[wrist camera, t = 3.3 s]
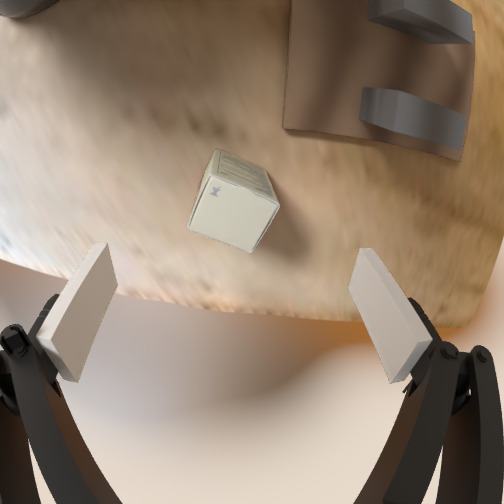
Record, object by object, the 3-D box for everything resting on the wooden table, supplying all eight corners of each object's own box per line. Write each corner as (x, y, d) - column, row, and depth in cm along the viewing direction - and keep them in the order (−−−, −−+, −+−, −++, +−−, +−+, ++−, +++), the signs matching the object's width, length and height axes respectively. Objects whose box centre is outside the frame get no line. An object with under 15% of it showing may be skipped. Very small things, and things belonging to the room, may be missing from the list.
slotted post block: (281, 126, 22) (299, 141, 17) (293, -35, 14) (312, -68, 8) (455, 159, 24) (496, 182, 18) (468, 31, 15) (513, 33, 10)
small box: (196, 188, 25) (183, 230, 18) (216, 146, 23) (209, 172, 16) (247, 209, 27) (252, 256, 20) (268, 169, 25) (282, 205, 18)
